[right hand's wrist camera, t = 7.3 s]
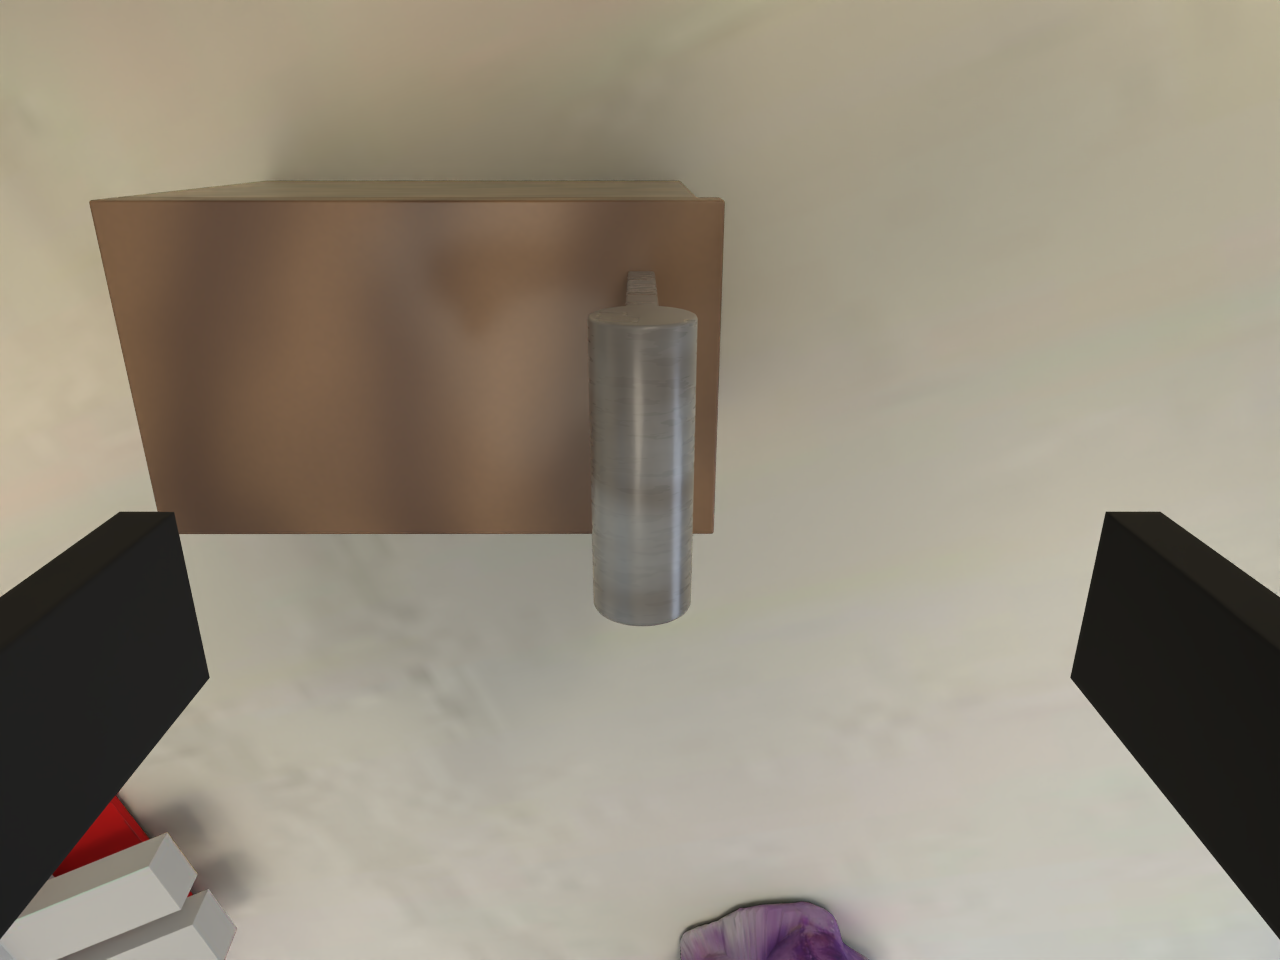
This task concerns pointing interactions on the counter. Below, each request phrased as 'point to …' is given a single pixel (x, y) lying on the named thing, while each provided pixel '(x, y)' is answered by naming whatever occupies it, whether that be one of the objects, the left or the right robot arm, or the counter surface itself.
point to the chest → (433, 189)
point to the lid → (431, 370)
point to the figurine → (769, 935)
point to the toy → (120, 902)
